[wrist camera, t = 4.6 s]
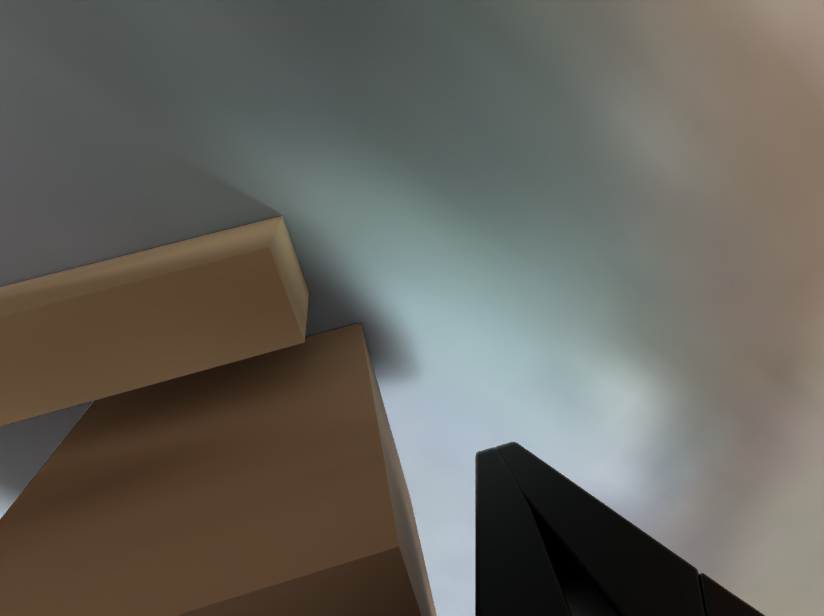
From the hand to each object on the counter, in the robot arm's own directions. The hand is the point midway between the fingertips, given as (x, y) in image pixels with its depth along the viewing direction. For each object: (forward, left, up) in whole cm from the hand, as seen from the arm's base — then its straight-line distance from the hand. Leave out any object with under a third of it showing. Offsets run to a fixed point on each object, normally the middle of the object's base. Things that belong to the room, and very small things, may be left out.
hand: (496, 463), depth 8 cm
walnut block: (0, +4, -2) cm, 5 cm away
